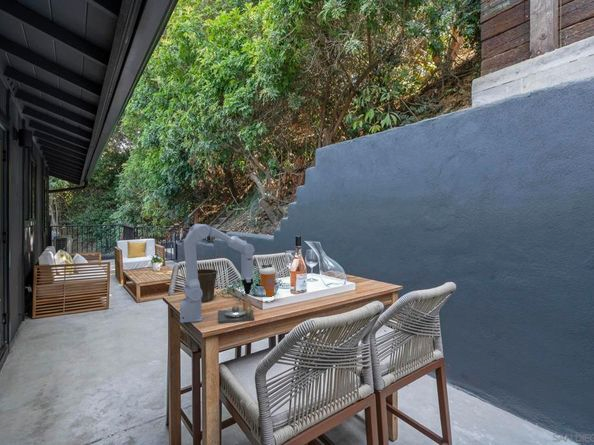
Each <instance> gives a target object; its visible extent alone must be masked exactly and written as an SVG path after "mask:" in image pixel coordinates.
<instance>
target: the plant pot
mask: <svg viewBox="0 0 594 445" xmlns="http://www.w3.org/2000/svg"><path fill="white" fill-rule="evenodd" d="M197 270H198V280H199V283H200V288H201V290H202V292H203V295H202V298H201V303H207V302H208V301H210V302H212V301H213V300H214V298H215V288H216V287H215V286H216V279H217V274H218V270H217V269H213V268H211V269H210V268H200V269H198V268H197Z"/></svg>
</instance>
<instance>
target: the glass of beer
mask: <svg viewBox="0 0 594 445" xmlns="http://www.w3.org/2000/svg"><path fill="white" fill-rule="evenodd" d="M275 267H276V266H275V265H274V264H270V263H269V264H261V268H259V277H260V281H261V282H260V286H261V285H262V286H263V287H264V289H265V291H266V296H267V297H272V296H274V297H275V294H274V287H275V288H276V286H275V285H276V273H277V271H276V269H275Z"/></svg>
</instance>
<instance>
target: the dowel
mask: <svg viewBox="0 0 594 445" xmlns="http://www.w3.org/2000/svg"><path fill="white" fill-rule="evenodd" d="M247 317H250V307H247Z"/></svg>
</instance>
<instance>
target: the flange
mask: <svg viewBox="0 0 594 445" xmlns="http://www.w3.org/2000/svg"><path fill="white" fill-rule="evenodd" d="M242 302H243V303H242V304H243V307H242V308H241V307H239V306H237V305H235V306H232V308H229V309H225V310H226V311H225V315H226V316H228V317H239V316H243V315H245V314H246V311H247V307H250V310H252V300H250V299H249V300H244V301H242Z"/></svg>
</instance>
